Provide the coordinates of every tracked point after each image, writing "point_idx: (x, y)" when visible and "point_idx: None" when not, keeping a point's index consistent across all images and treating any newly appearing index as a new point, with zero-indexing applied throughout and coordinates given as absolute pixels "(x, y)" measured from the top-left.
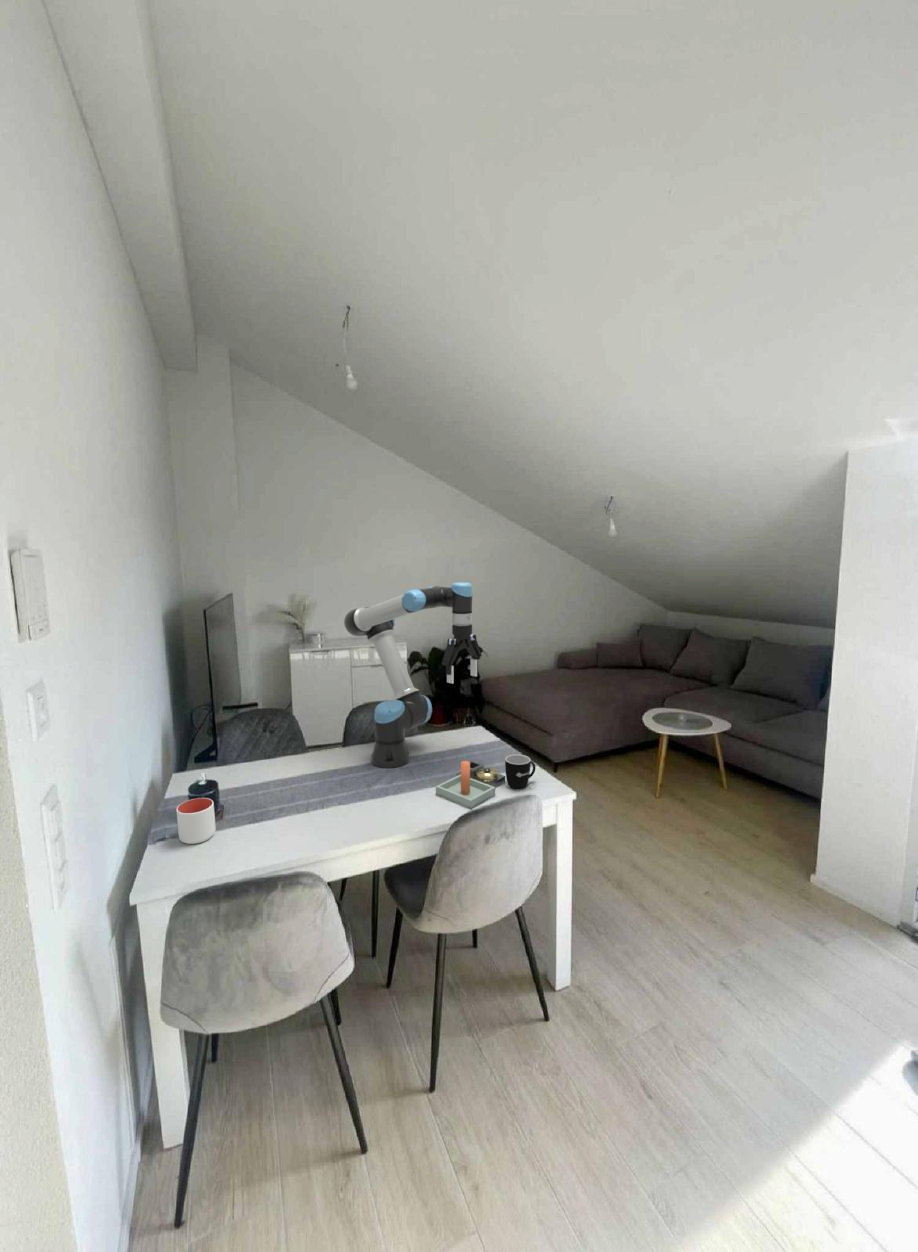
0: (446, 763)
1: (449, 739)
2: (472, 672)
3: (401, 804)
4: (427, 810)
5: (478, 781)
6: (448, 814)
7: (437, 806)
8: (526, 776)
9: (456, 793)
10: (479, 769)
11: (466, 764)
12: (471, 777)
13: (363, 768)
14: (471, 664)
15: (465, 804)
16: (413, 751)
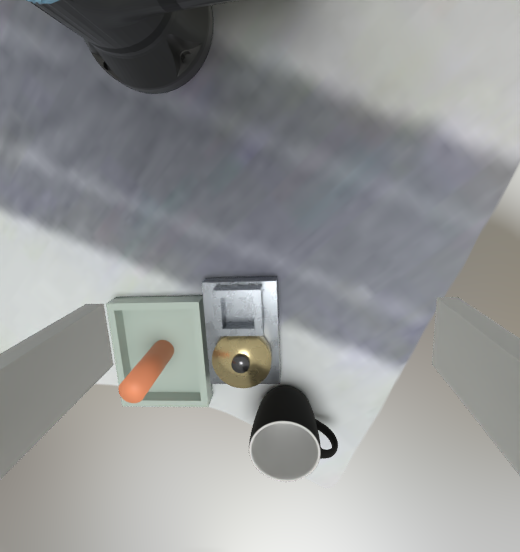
0: (262, 181)
1: (431, 21)
2: (450, 338)
3: (29, 274)
4: None
5: (202, 361)
6: None
7: None
8: (282, 451)
9: (120, 363)
10: (237, 338)
11: (125, 400)
12: (212, 328)
13: None
14: (504, 371)
15: None
16: (255, 16)
